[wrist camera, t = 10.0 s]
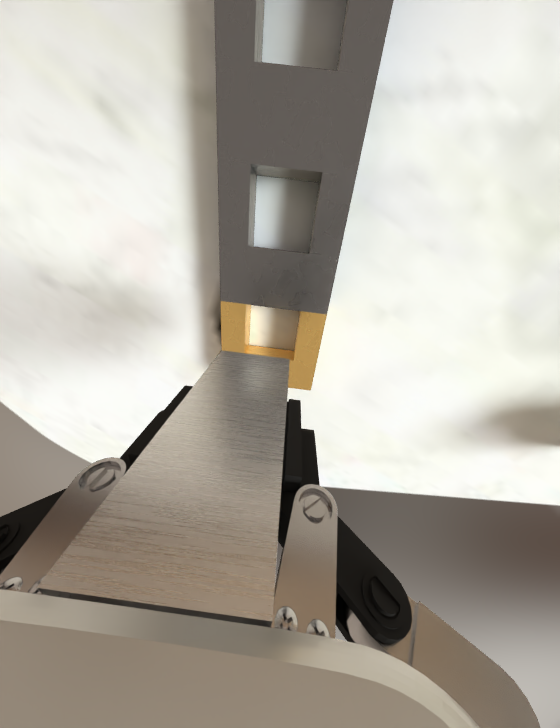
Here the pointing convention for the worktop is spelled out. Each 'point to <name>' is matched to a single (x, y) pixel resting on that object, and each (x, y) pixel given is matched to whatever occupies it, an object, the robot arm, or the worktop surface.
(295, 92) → the rail
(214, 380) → the steel peg
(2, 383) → the worktop surface
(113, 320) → the worktop surface
